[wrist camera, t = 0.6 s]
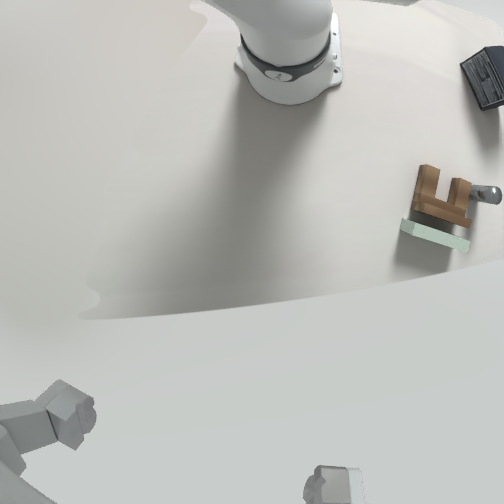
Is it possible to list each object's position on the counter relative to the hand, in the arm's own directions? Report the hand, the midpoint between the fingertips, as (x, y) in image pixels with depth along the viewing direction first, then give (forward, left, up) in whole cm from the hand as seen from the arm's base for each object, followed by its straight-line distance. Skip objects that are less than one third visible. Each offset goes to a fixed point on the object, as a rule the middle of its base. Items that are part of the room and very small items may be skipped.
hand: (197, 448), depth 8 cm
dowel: (-17, +35, -44) cm, 59 cm away
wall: (-7, +27, -44) cm, 52 cm away
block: (-14, +27, -44) cm, 54 cm away
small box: (-40, +34, -45) cm, 69 cm away
